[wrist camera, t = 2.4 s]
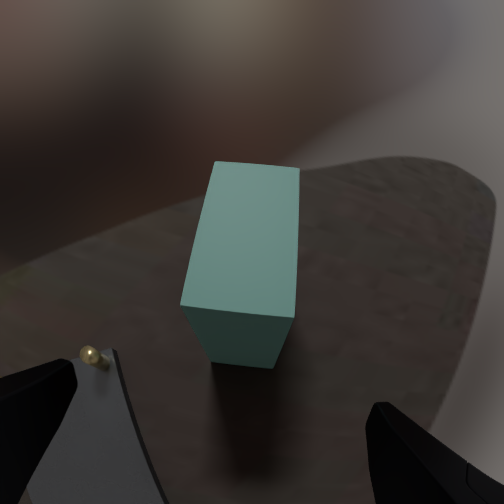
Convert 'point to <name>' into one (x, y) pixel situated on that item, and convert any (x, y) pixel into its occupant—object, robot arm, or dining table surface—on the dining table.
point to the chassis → (97, 444)
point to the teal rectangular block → (244, 264)
